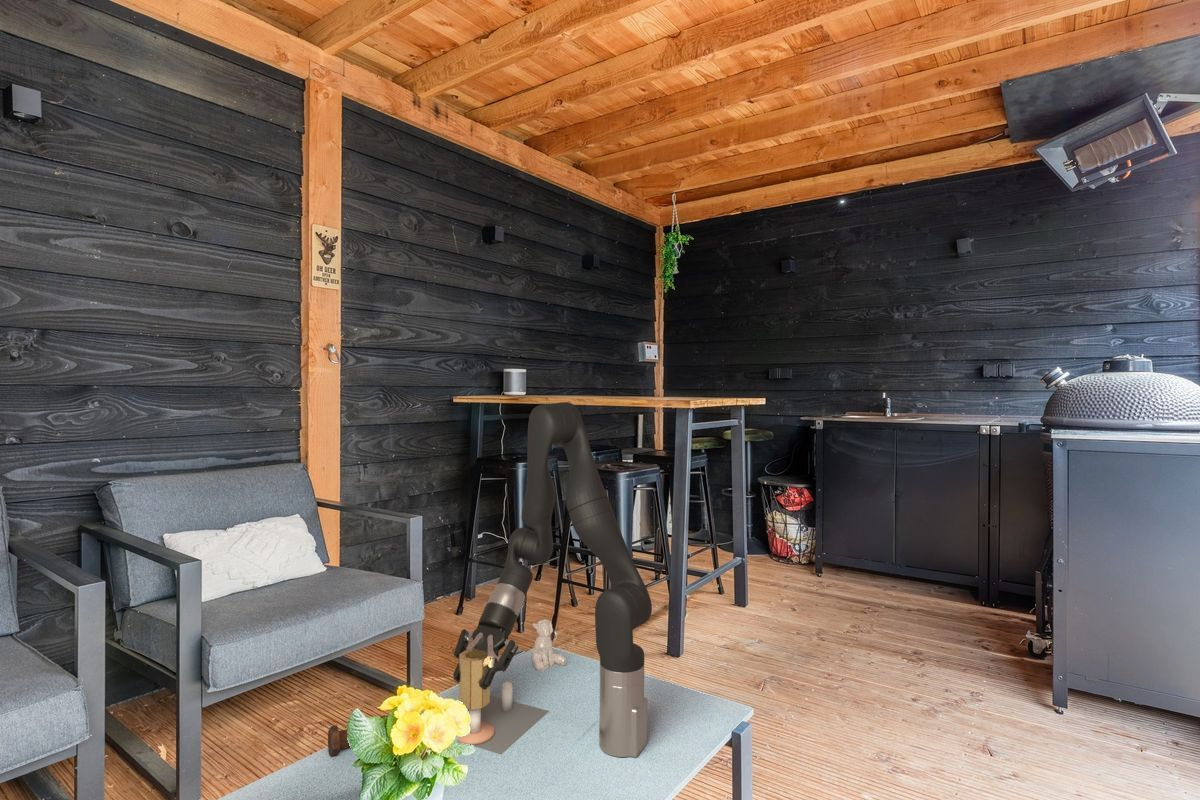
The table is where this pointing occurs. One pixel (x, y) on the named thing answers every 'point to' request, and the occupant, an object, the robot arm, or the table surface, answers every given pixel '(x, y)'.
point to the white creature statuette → (545, 648)
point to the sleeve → (473, 678)
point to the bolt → (336, 740)
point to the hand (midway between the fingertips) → (469, 684)
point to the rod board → (501, 722)
